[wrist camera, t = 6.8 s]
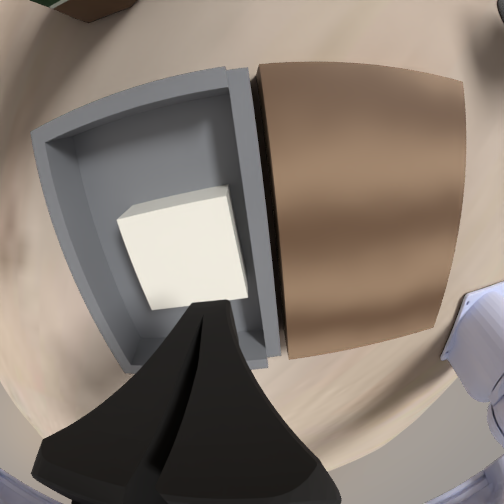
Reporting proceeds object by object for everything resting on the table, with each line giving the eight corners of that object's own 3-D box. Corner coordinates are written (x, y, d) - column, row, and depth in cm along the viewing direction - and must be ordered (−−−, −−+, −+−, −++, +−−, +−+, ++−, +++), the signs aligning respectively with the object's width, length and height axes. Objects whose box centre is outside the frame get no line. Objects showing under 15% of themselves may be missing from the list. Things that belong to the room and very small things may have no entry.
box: (277, 332, 21) (282, 365, 18) (136, 342, 21) (125, 373, 18) (247, 75, 13) (248, 63, 10) (63, 125, 13) (30, 131, 10)
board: (417, 305, 21) (433, 327, 18) (283, 331, 21) (288, 359, 18) (434, 82, 13) (462, 81, 10) (256, 74, 13) (259, 64, 10)
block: (247, 274, 18) (247, 297, 16) (161, 287, 18) (151, 310, 16) (228, 184, 15) (226, 195, 13) (132, 205, 16) (116, 219, 13)
